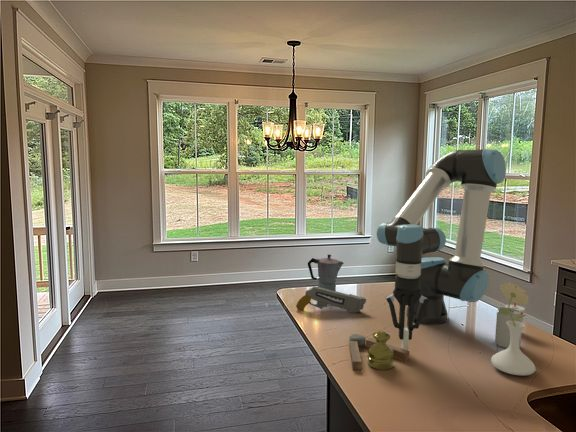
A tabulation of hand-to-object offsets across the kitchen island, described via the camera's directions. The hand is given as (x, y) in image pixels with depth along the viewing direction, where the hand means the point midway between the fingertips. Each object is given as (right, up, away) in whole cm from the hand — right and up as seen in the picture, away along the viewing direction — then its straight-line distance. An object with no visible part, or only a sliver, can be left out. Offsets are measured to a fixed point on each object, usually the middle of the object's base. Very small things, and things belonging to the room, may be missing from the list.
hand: (404, 348), depth 131 cm
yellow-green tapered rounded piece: (-9, -2, -7) cm, 12 cm away
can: (+35, -1, +6) cm, 36 cm away
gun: (-19, +3, +37) cm, 42 cm away
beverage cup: (+43, 0, +17) cm, 47 cm away
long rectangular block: (-6, -1, 0) cm, 6 cm away
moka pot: (-20, +5, +51) cm, 55 cm away
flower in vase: (+28, -3, -9) cm, 30 cm away
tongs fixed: (-14, -1, -1) cm, 15 cm away
